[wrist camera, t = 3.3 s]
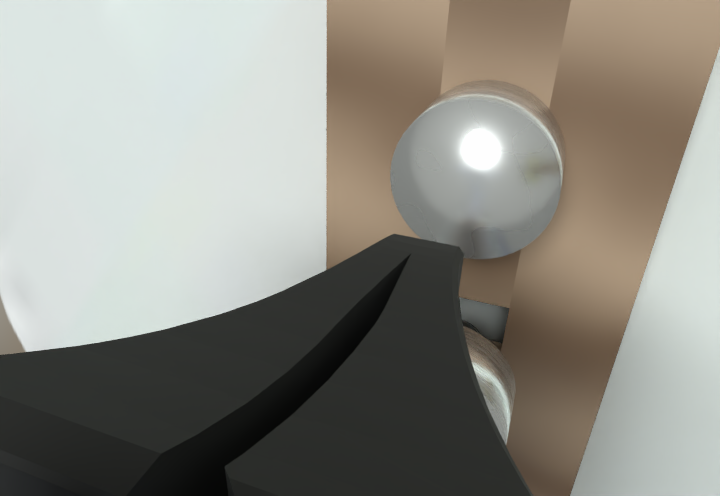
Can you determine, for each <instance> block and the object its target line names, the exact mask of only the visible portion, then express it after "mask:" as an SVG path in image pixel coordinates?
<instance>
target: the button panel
mask: <svg viewBox="0 0 720 496" xmlns="http://www.w3.org/2000/svg"><path fill="white" fill-rule="evenodd" d="M719 47H720V0H327V270H328V269H329V268H331V267H333V266H335V265H337V264H339V263H341V262H342V261H344V260H346V259H348V258H350V257H352V256H353V255H355V254H357V253H359V252H361V251H362V250H364V249H366V248H368V247H369V246H371V245H373V244H375V243H377V242H378V241H380V240H382V239H384V238H386V237H388V236H390V235H392V234H399V235H404V236H409V237H414V238H419V239H421V238H420V237H419V236H418V235H416V234H415V233H414V232H413V230H412V229H411V228H410V227H409V226H408V225H407V223H406V222H405V221H404V219H403V218H402V216H401V214H400V212H399V211H398V208H397V206H396V204H395V201H394V198H393V194H392V190H391V182H390V170H391V162H392V158H393V154H394V151H395V149H396V146H397V144H398V142H399V140H400V139H401V137H402V135H403V134H404V132H405V131H406V130H407V129H408V127H409V126H410V125H411V124H412V123H413V122H414V121H415V120H416V119H417V118H418V117H419V116H420V115H421V114H422V113H423V112H424V110H425V109H426V108H427V107H428V106H429V105H430V104H431V103H432V102H433V101H434V100H436V99H437V98H438V97H439V96H440V95H442V94H443V93H445V92H446V91H448V90H450V89H452V88H454V87H456V86H458V85H461V84H464V83H467V82H472V81H478V80H497V81H503V82H508V83H511V84H514V85H517V86H519V87H521V88H524V89H526V90H528V91H529V92H531V93H532V94H534V95H535V96H537V97H538V98H539V99H540V100H541V101H542V102H543V103H544V104H545V105H546V106H547V107H548V108H549V109H550V111H551V112H552V113H553V115H554V117H555V118H556V120H557V122H558V124H559V126H560V128H561V131H562V135H563V138H564V144H565V164H564V171H563V178H562V185H561V192H560V199H559V202H558V206H557V209H556V211H555V213H554V215H553V218H552V220H551V221H550V223H549V224H548V226H547V227H546V228H545V230H544V231H543V232H542V233H541V234H540V235H539V236H538V237H537V238H536V239H535V240H534V241H532V242H531V243H530V244H528V245H527V246H525V247H524V248H522V249H520V250H518V251H516V252H514V253H511V254H508V255H505V256H502V257H497V258H492V259H468V258H463V265H462V272H461V279H460V286H459V293H458V294H459V297H461V298H465V299H470V300H474V301H479V302H483V303H488V304H492V305H497V306H501V307H506V308H509V313H508V318H507V323H506V328H505V333H504V338H503V343H499V342H495V341H491V340H489V341H490V342H491V343H493V344H494V345H495V346H496V347H497V348H498V349H499V350H500V352H501V353H502V354H503V355H504V357H505V358H506V359H507V361H508V363H509V365H510V367H511V369H512V372H513V374H514V379H515V388H516V391H515V398H514V404H513V409H512V415H511V421H510V426H509V432H508V438H507V443H506V447H507V449H508V451H509V453H510V455H511V457H512V459H513V461H514V462H515V464H516V466H517V468H518V469H519V471H520V473H521V475H522V477H523V478H524V480H525V482H526V484H527V485H528V487H529V489H530V491H531V492H532V494H533V496H570V494H571V491H572V488H573V485H574V482H575V479H576V476H577V473H578V470H579V467H580V464H581V461H582V458H583V455H584V452H585V449H586V446H587V443H588V440H589V437H590V434H591V431H592V428H593V425H594V422H595V419H596V416H597V413H598V410H599V407H600V404H601V401H602V398H603V395H604V392H605V389H606V386H607V383H608V380H609V377H610V374H611V371H612V368H613V365H614V362H615V359H616V356H617V353H618V350H619V347H620V344H621V341H622V338H623V335H624V332H625V329H626V326H627V323H628V320H629V317H630V314H631V311H632V308H633V305H634V302H635V299H636V296H637V293H638V290H639V287H640V284H641V281H642V278H643V275H644V272H645V269H646V266H647V263H648V260H649V257H650V254H651V251H652V248H653V245H654V242H655V239H656V236H657V233H658V230H659V227H660V224H661V221H662V218H663V215H664V212H665V209H666V206H667V203H668V200H669V197H670V194H671V191H672V188H673V185H674V182H675V179H676V176H677V173H678V170H679V167H680V164H681V161H682V158H683V155H684V152H685V149H686V146H687V143H688V140H689V137H690V134H691V131H692V128H693V125H694V122H695V119H696V116H697V113H698V110H699V107H700V104H701V101H702V98H703V95H704V92H705V89H706V86H707V83H708V80H709V77H710V74H711V71H712V68H713V65H714V62H715V59H716V56H717V53H718V50H719Z"/></svg>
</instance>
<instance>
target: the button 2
mask: <svg viewBox="0 0 720 496" xmlns="http://www.w3.org/2000/svg"><path fill="white" fill-rule="evenodd" d="M564 164H565V144H564V138H563V135H562V131H561V128H560V126H559V124H558V122H557V120H556V118H555V117H554V115H553V113H552V112H551V111H550V109H549V108H548V107H547V106H546V105H545V104H544V103H543V102H542V101H541V100H540V99H539V98H538V97H537V96H535V95H534V94H532V93H531V92H529V91H528V90H526V89H524V88H521V87H519V86H517V85H514V84H511V83H508V82H503V81H497V80H478V81H472V82H467V83H464V84H461V85H458V86H456V87H454V88H452V89H450V90H448V91H446V92H445V93H443V94H442V95H440V96H439V97H438V98H437V99H436V100H434V101H433V102H432V103H431V104H430V105H429V106H428V107H427V108H426V109H425V110H424V112H423V113H422V114H421V115H420V116H419V117H418V118H417V119H416V120H415V121H414V122H413V123H412V124H411V125H410V126H409V127H408V129H407V130H406V131H405V132H404V134H403V135H402V137H401V139H400V140H399V142H398V144H397V146H396V149H395V151H394V154H393V158H392V162H391V170H390V182H391V190H392V194H393V198H394V201H395V204H396V206H397V208H398V211H399V212H400V214H401V216H402V218H403V219H404V221H405V222H406V223H407V225H408V226H409V227H410V228H411V229H412V230H413V232H414V233H415V234H416V235H418V236H419V237H420V238H421V239H424V240H429V241H434V242H439V243H444V244H449V245H454V246H459V247H460V249H461V250H462V251H463V253H464V258H468V259H492V258H497V257H502V256H505V255H508V254H511V253H514V252H516V251H518V250H520V249H522V248H524V247H525V246H527V245H528V244H530V243H531V242H532V241H534V240H535V239H536V238H537V237H538V236H539V235H540V234H541V233H542V232H543V231H544V230H545V228H546V227H547V226H548V224H549V223H550V221H551V220H552V218H553V215H554V213H555V211H556V209H557V206H558V202H559V199H560V192H561V185H562V178H563V171H564Z"/></svg>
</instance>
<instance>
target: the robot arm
mask: <svg viewBox="0 0 720 496" xmlns="http://www.w3.org/2000/svg"><path fill="white" fill-rule="evenodd" d="M463 258H464V253H463V251H462V250H461V249H460V247H459V246H454V245H449V244H444V243H439V242H434V241H429V240H424V239H419V238H414V237H409V236H404V235H399V234H392V235H390V236H388V237H386V238H384V239H382V240H380V241H378V242H377V243H375V244H373V245H371V246H369V247H368V248H366V249H364V250H362V251H361V252H359V253H357V254H355V255H353V256H352V257H350V258H348V259H346V260H344V261H342V262H341V263H339V264H337V265H335V266H333V267H331V268H329V269H328V270H326V271H324V272H322V273H320V274H318V275H315V276H313V277H311V278H309V279H307V280H305V281H303V282H301V283H299V284H296V285H294V286H292V287H290V288H288V289H286V290H284V291H282V292H279V293H277V294H274V295H272V296H270V297H267V298H265V299H262V300H260V301H257V302H254V303H251V304H249V305H246V306H243V307H240V308H237V309H235V310H232V311H229V312H226V313H223V314H220V315H216V316H212V317H209V318H205V319H201V320H198V321H194V322H191V323H187V324H183V325H180V326H176V327H172V328H169V329H165V330H161V331H156V332H151V333H147V334H142V335H137V336H133V337H128V338H122V339H117V340H111V341H105V342H100V343H94V344H87V345H81V346H74V347H66V348H58V349H49V350H41V351H32V352H24V353H16V354H7V355H0V496H533V494H532V492H531V491H530V489H529V487H528V485H527V484H526V482H525V480H524V478H523V477H522V475H521V473H520V471H519V469H518V468H517V466H516V464H515V462H514V461H513V459H512V457H511V455H510V453H509V451H508V449H507V447H506V445H505V443H504V440H503V438H502V436H501V434H500V432H499V430H498V428H497V426H496V424H495V422H494V420H493V417H492V415H491V413H490V411H489V409H488V406H487V404H486V401H485V399H484V396H483V394H482V391H481V388H480V386H479V383H478V380H477V377H476V374H475V371H474V368H473V365H472V362H471V358H470V355H469V351H468V347H467V343H466V338H465V334H464V329H463V324H462V318H461V312H460V303H459V294H458V293H459V286H460V279H461V272H462V265H463Z"/></svg>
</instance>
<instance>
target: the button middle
mask: <svg viewBox="0 0 720 496" xmlns="http://www.w3.org/2000/svg"><path fill="white" fill-rule="evenodd" d="M462 324H463V329H464V334H465V338H466V343H467V347H468V351H469V355H470V358H471V362H472V365H473V368H474V371H475V374H476V377H477V380H478V383H479V386H480V388H481V391H482V394H483V396H484V399H485V401H486V404H487V406H488V409H489V411H490V413H491V415H492V417H493V420H494V422H495V424H496V426H497V428H498V430H499V432H500V434H501V436H502V438H503V440H504V443H505V445H506V443H507V438H508V432H509V426H510V421H511V415H512V409H513V404H514V398H515V391H516V388H515V379H514V374H513V372H512V369H511V367H510V365H509V363H508V361H507V359H506V358H505V357H504V355H503V354H502V353H501V352H500V350H499V349H498V348H497V347H496V346H495V345H494V344H493V343H491V342H490V341H489V340H488V339H486V338H485V337H484V336H482V335H481V334H480V333H479V332H478V330H477V329H476V328H475V327H474V326H473V325H471V324H470V323H468V322H466V321H463V320H462Z"/></svg>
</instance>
